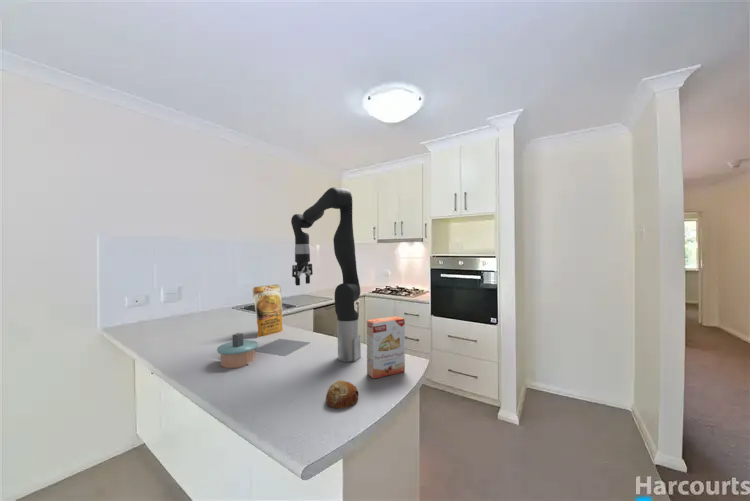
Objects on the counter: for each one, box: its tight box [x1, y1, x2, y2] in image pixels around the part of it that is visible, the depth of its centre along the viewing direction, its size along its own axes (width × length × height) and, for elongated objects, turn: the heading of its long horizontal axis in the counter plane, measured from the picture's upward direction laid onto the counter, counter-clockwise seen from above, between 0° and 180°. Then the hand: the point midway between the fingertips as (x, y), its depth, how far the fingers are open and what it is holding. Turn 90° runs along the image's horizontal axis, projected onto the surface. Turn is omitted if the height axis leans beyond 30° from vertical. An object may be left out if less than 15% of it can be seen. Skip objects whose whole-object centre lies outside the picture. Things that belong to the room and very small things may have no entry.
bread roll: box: [325, 379, 359, 409], centre depth 94 cm, size 10×10×8 cm
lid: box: [216, 332, 259, 355], centre depth 129 cm, size 16×16×6 cm
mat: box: [255, 338, 311, 357], centre depth 146 cm, size 20×20×1 cm
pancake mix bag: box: [252, 284, 284, 338], centre depth 170 cm, size 7×19×28 cm, turn 141°
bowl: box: [220, 349, 256, 369], centre depth 129 cm, size 13×13×6 cm
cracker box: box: [366, 315, 406, 379], centre depth 115 cm, size 14×6×21 cm, turn 117°
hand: (302, 284), depth 154 cm, fingers open, 8 cm apart
